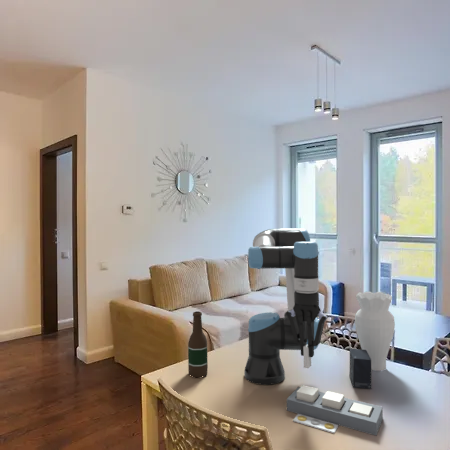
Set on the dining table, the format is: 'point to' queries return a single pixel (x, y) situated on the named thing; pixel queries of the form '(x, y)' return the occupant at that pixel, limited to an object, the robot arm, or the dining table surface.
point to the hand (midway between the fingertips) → (307, 366)
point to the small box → (360, 368)
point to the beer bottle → (197, 348)
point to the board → (337, 413)
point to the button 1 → (307, 393)
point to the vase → (375, 326)
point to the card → (316, 423)
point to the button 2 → (333, 400)
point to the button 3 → (361, 409)
